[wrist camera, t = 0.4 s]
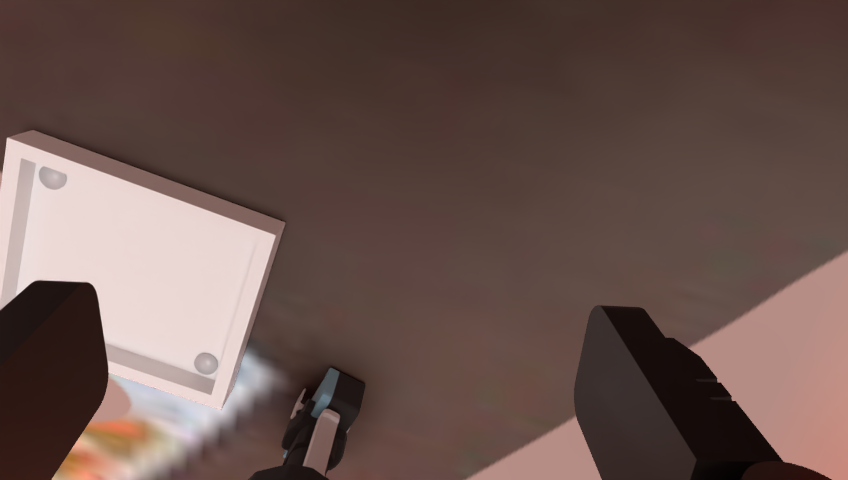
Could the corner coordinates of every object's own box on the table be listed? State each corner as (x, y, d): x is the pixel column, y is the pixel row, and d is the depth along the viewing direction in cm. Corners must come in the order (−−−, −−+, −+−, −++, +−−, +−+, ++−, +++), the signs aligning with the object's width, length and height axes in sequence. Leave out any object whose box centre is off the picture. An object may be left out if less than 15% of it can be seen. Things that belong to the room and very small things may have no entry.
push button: (336, 473, 36) (296, 641, 26) (252, 433, 35) (179, 591, 25) (392, 390, 33) (370, 540, 24) (304, 344, 33) (245, 482, 23)
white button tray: (32, 129, 29) (7, 137, 27) (285, 222, 30) (276, 235, 28) (5, 313, 33) (-19, 330, 31) (232, 389, 34) (220, 410, 32)
